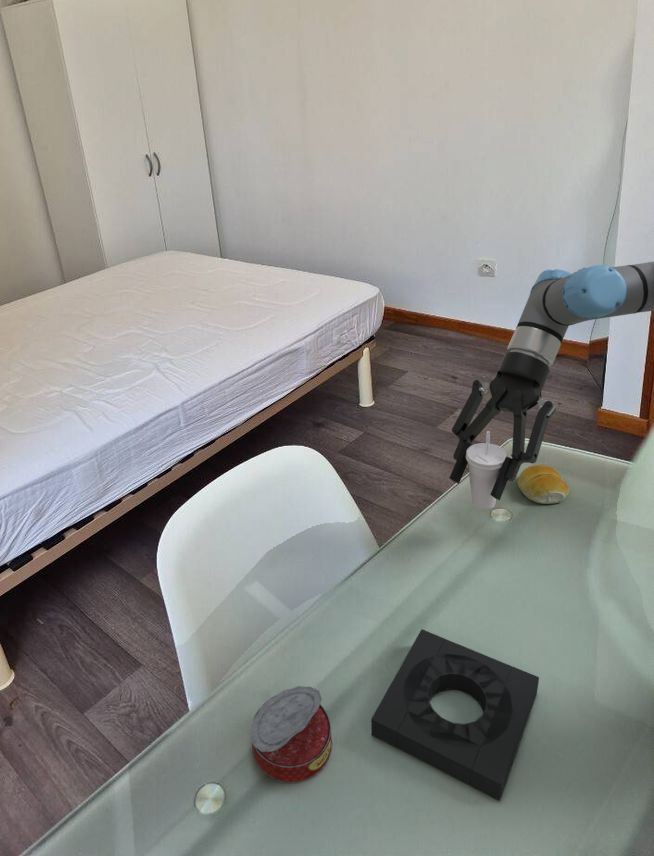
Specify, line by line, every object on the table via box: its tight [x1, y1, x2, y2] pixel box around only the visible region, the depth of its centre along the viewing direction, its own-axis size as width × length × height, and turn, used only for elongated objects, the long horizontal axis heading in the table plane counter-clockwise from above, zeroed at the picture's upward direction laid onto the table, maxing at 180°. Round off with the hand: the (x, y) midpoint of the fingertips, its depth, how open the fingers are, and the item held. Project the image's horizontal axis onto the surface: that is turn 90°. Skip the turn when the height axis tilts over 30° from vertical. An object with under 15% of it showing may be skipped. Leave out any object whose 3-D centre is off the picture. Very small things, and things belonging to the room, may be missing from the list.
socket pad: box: [370, 628, 540, 802], centre depth 87 cm, size 16×16×3 cm
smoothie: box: [466, 430, 508, 510], centre depth 111 cm, size 6×6×14 cm
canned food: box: [249, 685, 333, 784], centre depth 84 cm, size 11×10×10 cm
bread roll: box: [517, 464, 570, 505], centre depth 126 cm, size 8×9×4 cm
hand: (474, 488), depth 109 cm, fingers closed on smoothie, 6 cm apart
